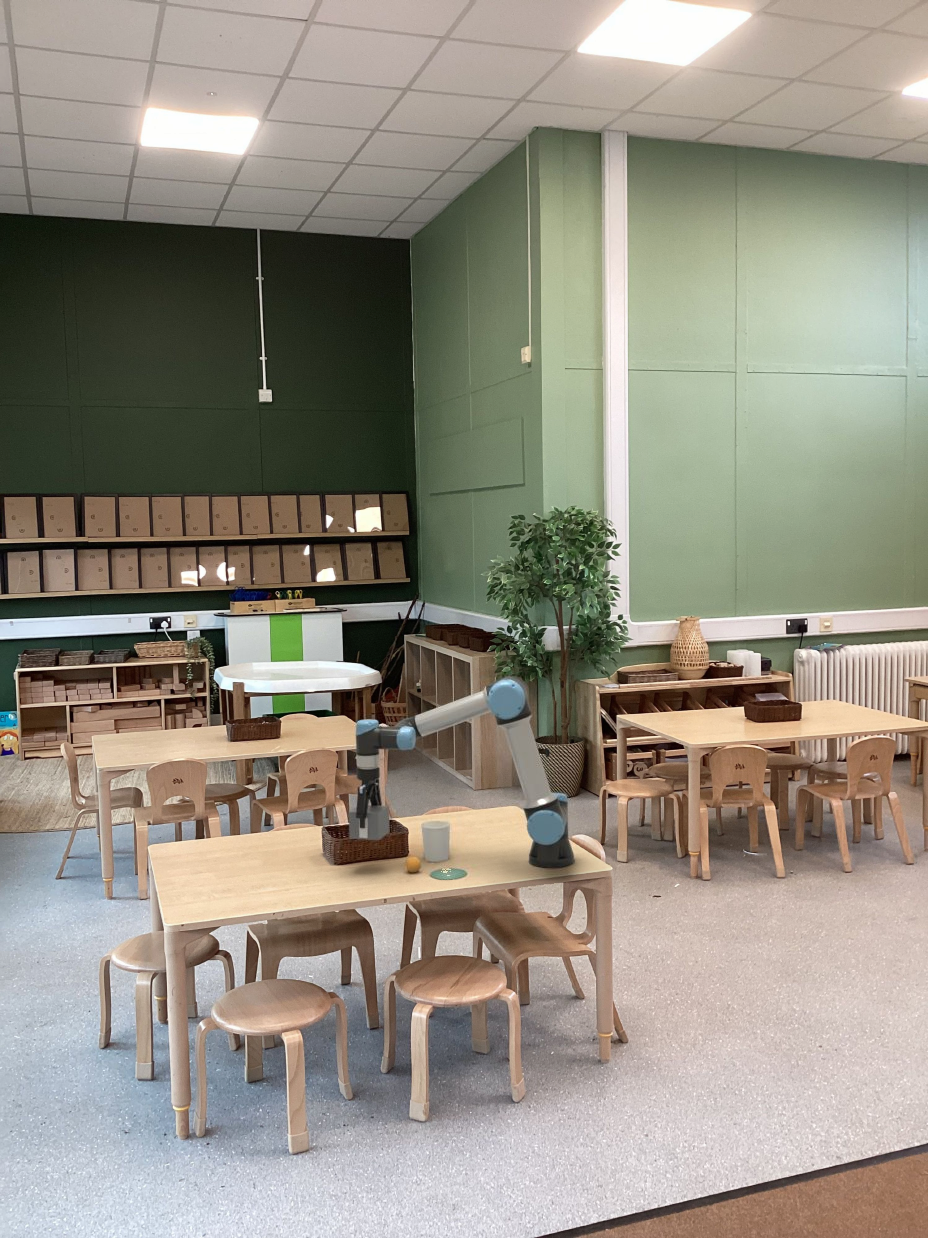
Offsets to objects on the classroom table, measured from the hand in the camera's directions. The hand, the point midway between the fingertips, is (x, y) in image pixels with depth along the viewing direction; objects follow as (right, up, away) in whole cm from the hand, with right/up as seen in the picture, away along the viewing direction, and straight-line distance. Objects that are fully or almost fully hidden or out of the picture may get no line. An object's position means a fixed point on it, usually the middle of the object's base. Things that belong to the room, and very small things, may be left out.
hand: (369, 833), depth 357 cm
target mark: (+26, -12, -7) cm, 30 cm away
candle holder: (+22, -11, +11) cm, 27 cm away
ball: (+15, -10, -3) cm, 18 cm away
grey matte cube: (0, -1, 0) cm, 1 cm away
